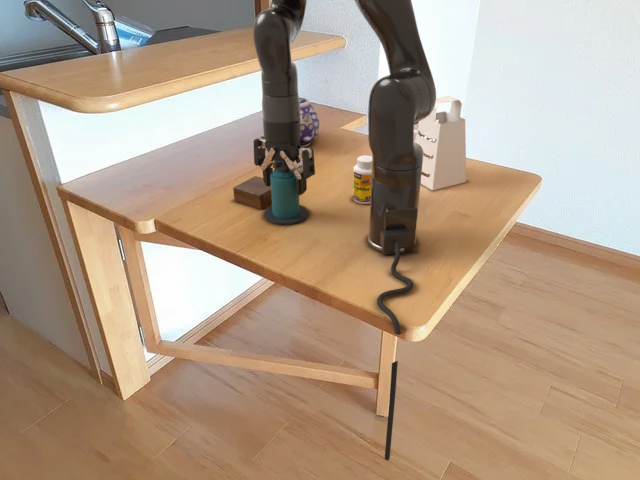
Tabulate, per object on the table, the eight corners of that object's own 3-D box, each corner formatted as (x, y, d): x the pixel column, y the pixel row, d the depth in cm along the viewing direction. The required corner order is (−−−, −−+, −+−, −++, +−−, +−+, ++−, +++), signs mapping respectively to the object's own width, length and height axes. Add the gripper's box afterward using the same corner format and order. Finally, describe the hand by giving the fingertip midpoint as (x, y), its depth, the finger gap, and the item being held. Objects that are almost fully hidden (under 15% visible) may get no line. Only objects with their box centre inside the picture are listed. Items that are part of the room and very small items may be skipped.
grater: (406, 175, 135) (413, 97, 125) (439, 167, 139) (448, 91, 129) (432, 190, 127) (441, 108, 117) (466, 181, 131) (477, 101, 121)
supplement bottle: (348, 201, 122) (349, 160, 116) (359, 192, 126) (360, 152, 121) (370, 207, 119) (372, 164, 114) (380, 197, 123) (382, 156, 118)
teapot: (338, 150, 150) (338, 98, 143) (291, 161, 144) (289, 107, 136) (296, 127, 169) (294, 80, 162) (252, 135, 162) (249, 86, 155)
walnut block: (261, 209, 118) (260, 195, 117) (234, 201, 122) (232, 187, 121) (282, 196, 124) (281, 183, 122) (256, 189, 128) (255, 175, 126)
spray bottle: (297, 227, 116) (268, 205, 105) (276, 220, 119) (245, 198, 108) (318, 179, 118) (292, 152, 107) (297, 173, 121) (269, 146, 110)
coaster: (311, 222, 113) (311, 220, 113) (267, 227, 111) (266, 225, 111) (303, 203, 121) (303, 201, 121) (262, 207, 120) (262, 205, 119)
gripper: (241, 114, 106) (248, 188, 114) (299, 126, 99) (301, 203, 107) (265, 105, 111) (269, 176, 119) (321, 116, 104) (322, 190, 112)
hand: (284, 189), depth 113 cm, fingers open, 8 cm apart
